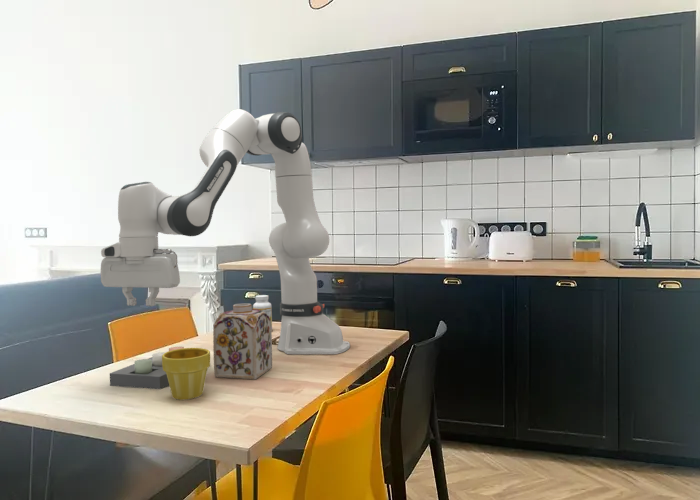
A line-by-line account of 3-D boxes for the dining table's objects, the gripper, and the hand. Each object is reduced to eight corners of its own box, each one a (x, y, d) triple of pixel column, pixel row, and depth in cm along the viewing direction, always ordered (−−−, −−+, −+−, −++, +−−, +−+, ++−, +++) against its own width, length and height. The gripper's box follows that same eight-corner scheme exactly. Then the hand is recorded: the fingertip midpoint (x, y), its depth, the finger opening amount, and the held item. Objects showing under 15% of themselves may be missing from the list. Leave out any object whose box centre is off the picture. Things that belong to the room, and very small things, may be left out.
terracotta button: (187, 357, 148) (187, 346, 148) (179, 361, 144) (178, 350, 144) (174, 357, 149) (174, 346, 149) (165, 360, 145) (165, 349, 145)
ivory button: (172, 364, 141) (171, 352, 141) (163, 368, 137) (162, 356, 137) (159, 363, 142) (158, 352, 142) (149, 367, 138) (149, 355, 138)
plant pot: (197, 404, 117) (196, 359, 116) (154, 401, 119) (152, 357, 118) (218, 389, 127) (217, 348, 126) (178, 387, 129) (177, 346, 129)
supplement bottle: (254, 329, 199) (253, 294, 199) (272, 329, 200) (272, 294, 199) (252, 333, 193) (251, 297, 192) (271, 332, 193) (270, 296, 192)
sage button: (155, 371, 134) (155, 359, 134) (145, 375, 130) (145, 363, 130) (141, 370, 135) (141, 358, 135) (131, 374, 132) (130, 362, 131)
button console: (207, 366, 148) (206, 355, 148) (160, 389, 128) (159, 376, 128) (162, 363, 152) (162, 353, 152) (110, 385, 132) (109, 373, 131)
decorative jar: (256, 380, 134) (254, 308, 133) (212, 378, 137) (210, 307, 136) (273, 367, 145) (272, 301, 145) (233, 366, 148) (231, 300, 147)
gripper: (184, 248, 132) (186, 304, 132) (113, 248, 137) (115, 303, 138) (168, 249, 126) (170, 308, 126) (95, 249, 131) (97, 306, 132)
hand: (141, 305), depth 132 cm, fingers open, 4 cm apart
